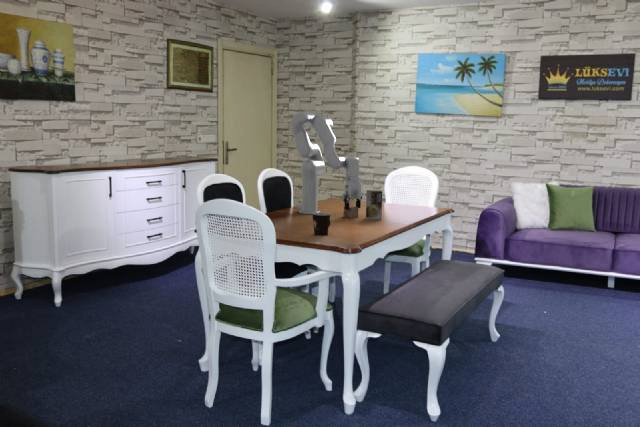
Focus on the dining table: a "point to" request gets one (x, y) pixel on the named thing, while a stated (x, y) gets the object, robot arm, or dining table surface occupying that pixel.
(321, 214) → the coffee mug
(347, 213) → the walnut block
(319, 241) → the dining table surface
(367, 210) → the coffee box
